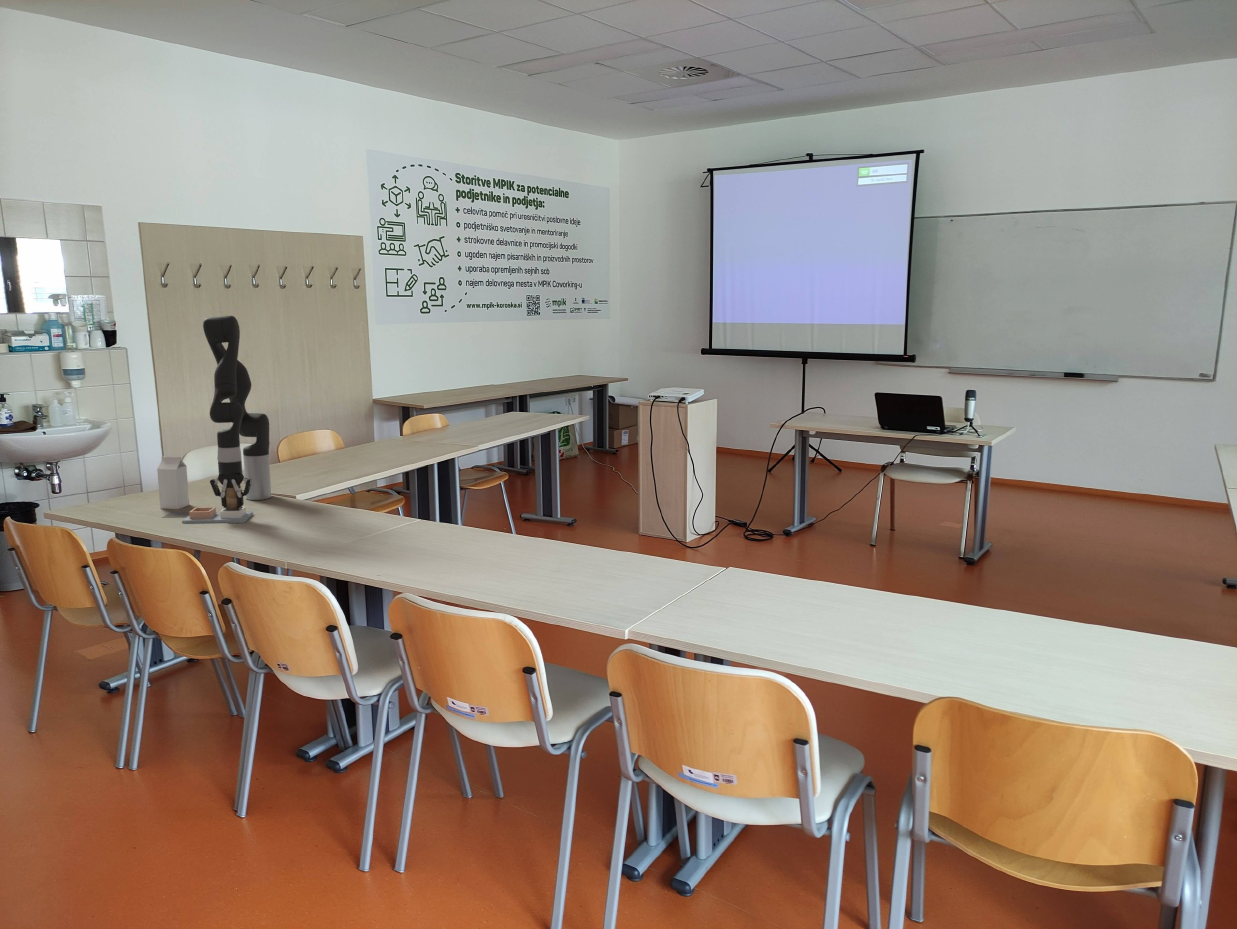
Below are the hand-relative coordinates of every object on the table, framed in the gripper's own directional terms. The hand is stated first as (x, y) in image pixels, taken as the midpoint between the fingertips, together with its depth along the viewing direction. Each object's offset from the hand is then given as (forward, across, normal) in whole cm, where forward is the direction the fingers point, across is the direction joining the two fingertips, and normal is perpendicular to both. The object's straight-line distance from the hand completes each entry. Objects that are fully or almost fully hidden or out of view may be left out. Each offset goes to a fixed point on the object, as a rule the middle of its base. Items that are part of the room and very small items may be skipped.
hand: (232, 507), depth 298 cm
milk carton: (+4, +26, -20) cm, 33 cm away
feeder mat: (+4, +20, -7) cm, 22 cm away
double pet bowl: (+4, +5, 0) cm, 7 cm away
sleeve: (+2, 0, 0) cm, 2 cm away
